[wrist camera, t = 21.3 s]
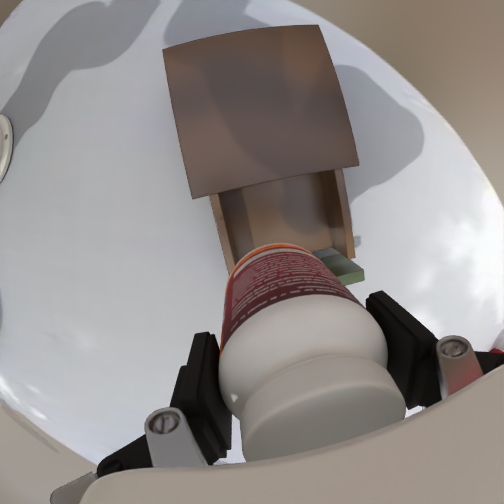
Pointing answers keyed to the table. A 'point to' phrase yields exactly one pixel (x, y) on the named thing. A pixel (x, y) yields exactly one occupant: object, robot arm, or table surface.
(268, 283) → the pill bottle
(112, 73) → the table surface
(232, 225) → the drawer
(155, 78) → the table surface
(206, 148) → the cabinet
